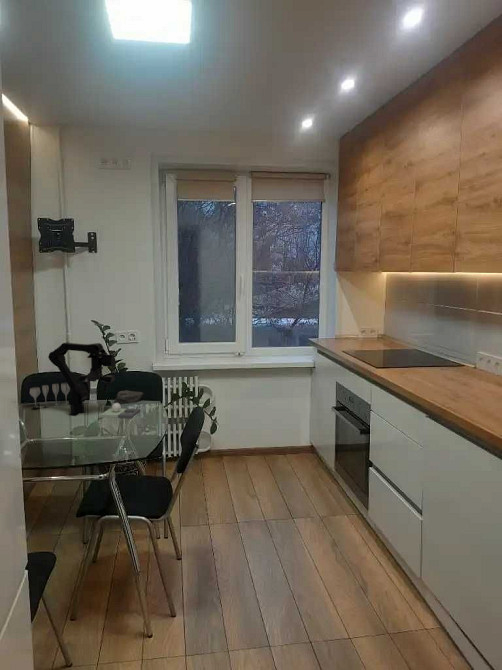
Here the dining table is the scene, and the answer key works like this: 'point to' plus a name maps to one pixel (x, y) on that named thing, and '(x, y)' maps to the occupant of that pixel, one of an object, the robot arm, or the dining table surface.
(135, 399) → the stone
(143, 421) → the dining table surface
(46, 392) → the goblet set
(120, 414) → the panel
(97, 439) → the dining table surface
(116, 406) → the ball
